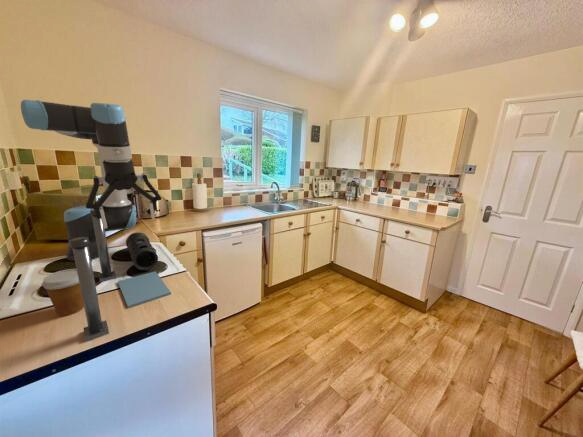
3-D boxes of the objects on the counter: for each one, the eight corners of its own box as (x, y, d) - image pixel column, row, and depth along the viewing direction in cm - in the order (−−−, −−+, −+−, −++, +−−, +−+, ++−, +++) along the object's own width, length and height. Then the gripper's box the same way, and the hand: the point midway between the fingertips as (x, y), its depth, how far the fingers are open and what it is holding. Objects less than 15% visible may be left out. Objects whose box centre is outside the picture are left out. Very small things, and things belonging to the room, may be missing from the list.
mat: (118, 282, 90) (117, 281, 90) (155, 273, 99) (155, 271, 99) (128, 308, 76) (127, 306, 76) (171, 294, 85) (170, 292, 85)
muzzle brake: (133, 275, 97) (130, 252, 94) (126, 252, 118) (124, 232, 115) (160, 269, 103) (157, 247, 100) (148, 248, 123) (146, 229, 121)
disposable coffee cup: (55, 324, 68) (46, 287, 65) (45, 311, 73) (36, 276, 70) (95, 307, 76) (89, 273, 73) (83, 297, 81) (77, 265, 78)
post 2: (98, 277, 94) (87, 209, 87) (114, 273, 97) (104, 208, 90) (100, 282, 90) (88, 212, 83) (116, 278, 94) (105, 210, 87)
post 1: (84, 331, 66) (65, 238, 59) (106, 323, 69) (91, 234, 62) (85, 341, 62) (65, 244, 55) (109, 333, 66) (92, 240, 59)
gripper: (60, 164, 62) (82, 235, 70) (165, 160, 76) (173, 220, 85) (63, 158, 67) (82, 225, 75) (160, 156, 81) (168, 212, 90)
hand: (130, 222), depth 80 cm, fingers open, 13 cm apart
